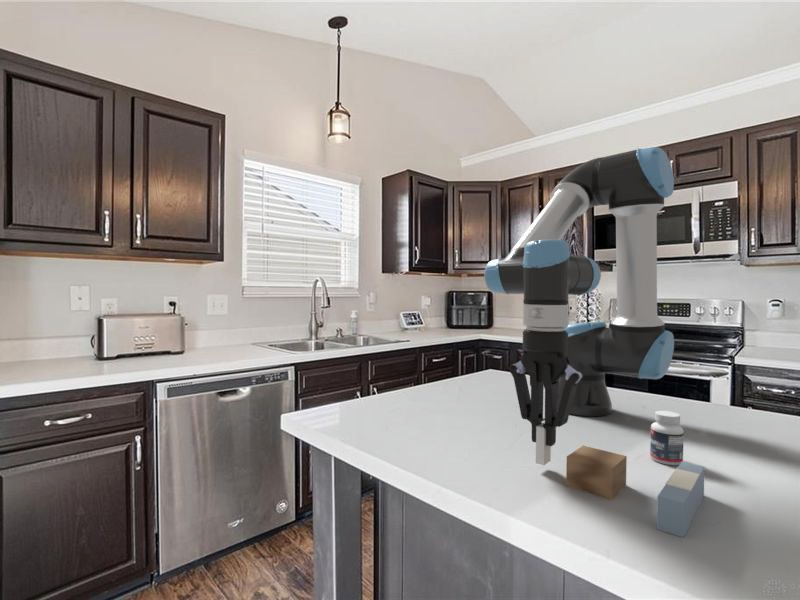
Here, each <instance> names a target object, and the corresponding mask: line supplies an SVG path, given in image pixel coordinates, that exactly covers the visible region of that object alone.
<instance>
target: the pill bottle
mask: <svg viewBox="0 0 800 600" xmlns="http://www.w3.org/2000/svg"><path fill="white" fill-rule="evenodd" d="M654 414H655V415H654V420H655V422H652V424H650V445H649V446H650V447H649V454H650V455H649V456H650V459H651V460H652V461H654V462H657V463H659V464H662V465H668V466H679V465H680V463H681V462H682V461H683V462H684V440H685V439H684V437H685V436H684V432H685V431H684V429H683V427H682V426H681V425H680V423H681V415H680V413H678V412H674V411H669V410H657V411H655V413H654Z"/></svg>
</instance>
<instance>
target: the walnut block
mask: <svg viewBox="0 0 800 600" xmlns="http://www.w3.org/2000/svg"><path fill="white" fill-rule="evenodd" d="M627 458H628V457H627V455H625V454H619V453H615V452H611V451H607V450H603V449H600V448H595V447H591V446H586V445H581V446H580V447H579V448H577V449H575V450H574V451H573V452H571V453H570V454H568V455H566V480H565V482H566V483H565V485H566V487H568V488H571V489H575V490H579V491H581V492H585V493H588V494H591V495H594V496H597V497H600V498H603V499H606V500H610V501H612V500H614V499H615V498H616V496H617V495H619V493H620V492H621V491H623V489H625V487H627Z"/></svg>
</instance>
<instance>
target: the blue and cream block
mask: <svg viewBox="0 0 800 600" xmlns="http://www.w3.org/2000/svg"><path fill="white" fill-rule="evenodd" d="M674 469H675V470H674V471H673V472H672V474H670V476H669V478H668V479H667V481H666V482H665V485H664V486H663V487H662V489H661V490H660V492H659V494H658V495H657V517H656V518H657V520H656V521H657V525H656V529H657V530H660V531H662V532H665V533H669V534H672V535H675V536H678V537H680V538H685V536H686V533H687V532H688V530H689V527H690V525H691V523H692V521H693V519H694V517H695V515H696V513H697V511H698V508H699V506H700V504H701V502H702V500H703V498H704V495H705V466H704V465H701V464H696V463H692V462H691V463H690V462H686V461H684V460H683V461H682V462H681V463H680V465H677V468H674Z"/></svg>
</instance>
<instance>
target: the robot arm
mask: <svg viewBox="0 0 800 600" xmlns="http://www.w3.org/2000/svg"><path fill="white" fill-rule="evenodd" d="M674 186H675V178H674V171H673V168H672V164H671V161H670V159H669V157H668V155H667V153H666V151H665V150H663V148H661V147H659V146H653V147H652V146H651V147H645V148H637V149H634V150H629V151H624V152H621V153H616V154H612V155H606V156H602V157H596V158H593V159H590V160H588V161H586V162H583V163H582V164H580V165H579V166H577V167H575V168H574V169H573V170H571V171H570V172H569V173H567V175H565V176H564V177H563V178H562V179H561V180H560V181H559V182H558V183H557V184H556V186H555V187H554V188H553V189H552V191H551V194H550V200H549V201H548V203H547V204H545V206H544V208H543V209H542V210H541V211H540V212H539V214H538V215H537V217H536V218H535V219H534V220H533V222H532V223H531V224H530V226H529V227H528V228H527V230H526V231H525V232H524V233H523V234H522V235H521V237H520V239H519V240H518V241H517V242H516V244H515V245H514V246H513V247H512V248H511V250H510V252H508V254H507V255H506V257H504V258H502V257H499V258H495V259H492V260H490V261H489V262H488V263H486V266H485V267H484V268H485V269H484V274H483V275H484V282H485V284H486V288H487V289H488V290H489V291H490V292H492V293H495V294H505V295H523V302H522V303H523V304H522V305H523V306H522V307H523V309H522V326H524V328H525V327H526V328H525V329H523V331H522V355H521V357H520V360H519V361H517V362H516V363H513V364H509V366H508V370H509V372H510V373H511V376H512V378H513V382H514V386H515V390H516V396H517V402H518V407H519V412H520V416H521V418H522V419H523V420H526V421H528V422H529V423H530V424H531V441H532V442H533V443H535V464H538V465H541V466H546V465H547V464H549V462H551V458H552V457H551V456H552V455H551V453H552V452H551V451H552V449H551V448H552V447H553V446H554V445H556V441H557V440H556V437H557V428H560V427H562V426H563V425H565V424H568V421H569V416H570V415H575V416H583V417H601V416H603V417H604V416H608V415H610V414H611V413H612V412H613V411H612V408H613V405H612V400H611V396H610V394H609V391H608V387H607V385H606V384H607V383H606V374H610V375H611V374H612V375H618V376H624V377H631V378H638V379H640V380H642V379H649V380H659V379H661V378H663V377H664V376H665V375H666V374H667V373H668V371H669V368H670V365H671V364H672V361H673V360H672V359H673V355H674V352H675V350H674V349H675V338H674V334H673V332H671V331H669V330H666V329H665V322H664V321H663V320H662V319H661V317H659V316H658V270H657V269H658V258H657V257H658V254H657V253H658V251H657V250H658V246H657V245H658V239H657V238H658V237H657V236H658V235H657V234H658V233H657V230H658V228H657V226H658V225H657V223H658V221H657V218H658V215H657V214H658V213H659V212H661V210H662V209H663V208H664V207H665V199H666V198H669V197H671V196H672V195H673V193H674V188H675V187H674ZM607 205H608V212H609V213H610V214H612V215H613V216H614V217H615V247H616V248H615V249H616V250H615V251H616V253H615V260H616V266H615V267H616V316H615V317H614V318H613V319H612V320H611V321H610V327H608V326H607V323H606V321H590V322H589V321H588V322H578V323H577V322H576V323H575V322H574V323H569V296H570V295H573V296H583V295H585V294H590V293H591V292H593V291H594V290H595V289H596V288H597V287H598V286H599V283H600V281H601V279H602V278H601V277H602V276H601V275H602V274H601V269H600V266H599V264H598V263H597V262H596V261H595V260H594V259H592V258H590V257H587V256H585V255H582V254H578V255H576V254H571V252H570V245H569V243H568V241H566V240H564V239H563V237H564V236H565V235H566V233H567V232H568V230H569V229H570V228H571V226H572V225H573V223H574V221H576V219H577V217H580V216H582V215H584V214H585V213H586V212H587V210H588V209H591V208H593V207H598V206H607ZM525 372H526V373H527V374H528V376H529V384H528V380H527V376H526V373H525ZM529 386H530V389H529ZM529 390H530V391H529Z"/></svg>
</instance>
